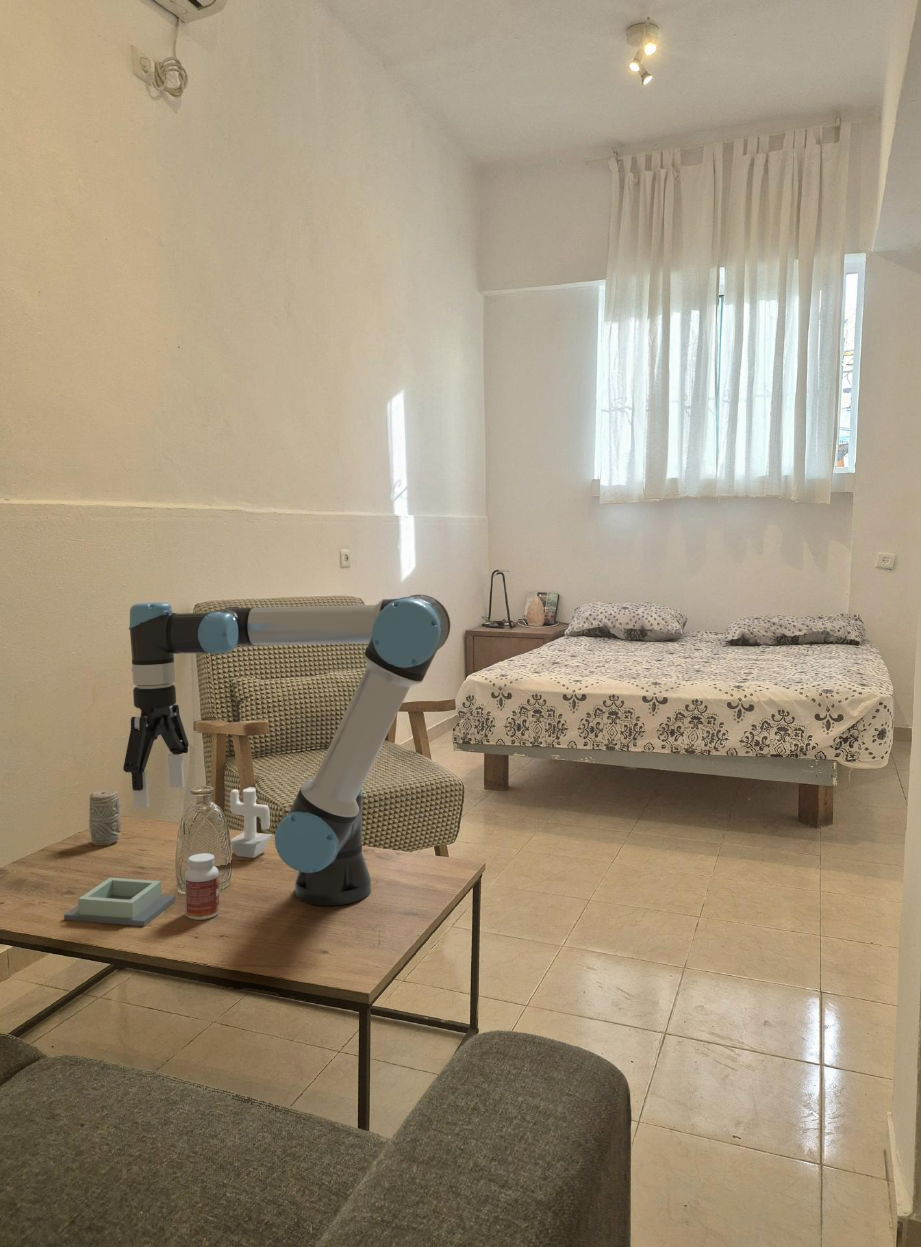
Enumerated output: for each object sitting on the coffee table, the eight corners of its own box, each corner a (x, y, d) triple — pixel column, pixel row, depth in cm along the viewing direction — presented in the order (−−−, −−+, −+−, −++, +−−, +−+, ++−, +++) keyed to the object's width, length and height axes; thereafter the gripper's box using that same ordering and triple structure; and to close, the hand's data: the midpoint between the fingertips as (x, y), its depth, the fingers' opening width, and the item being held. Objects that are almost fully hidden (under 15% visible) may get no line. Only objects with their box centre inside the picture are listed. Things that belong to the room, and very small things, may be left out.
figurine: (260, 861, 198) (260, 794, 197) (223, 856, 201) (222, 791, 199) (277, 850, 205) (276, 786, 203) (240, 846, 208) (239, 782, 206)
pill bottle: (224, 916, 169) (223, 859, 168) (191, 923, 165) (190, 865, 164) (213, 905, 174) (212, 849, 173) (181, 912, 171) (180, 855, 170)
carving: (83, 846, 207) (81, 795, 206) (104, 836, 214) (103, 787, 213) (107, 849, 205) (105, 797, 204) (127, 838, 212) (126, 789, 211)
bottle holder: (175, 900, 176) (175, 881, 175) (144, 926, 164) (143, 905, 164) (100, 895, 178) (99, 875, 178) (64, 919, 167) (63, 899, 166)
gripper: (167, 675, 181) (173, 779, 182) (98, 696, 156) (105, 815, 158) (202, 675, 179) (207, 779, 181) (138, 696, 155) (144, 816, 157)
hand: (159, 796), depth 170 cm, fingers open, 13 cm apart
